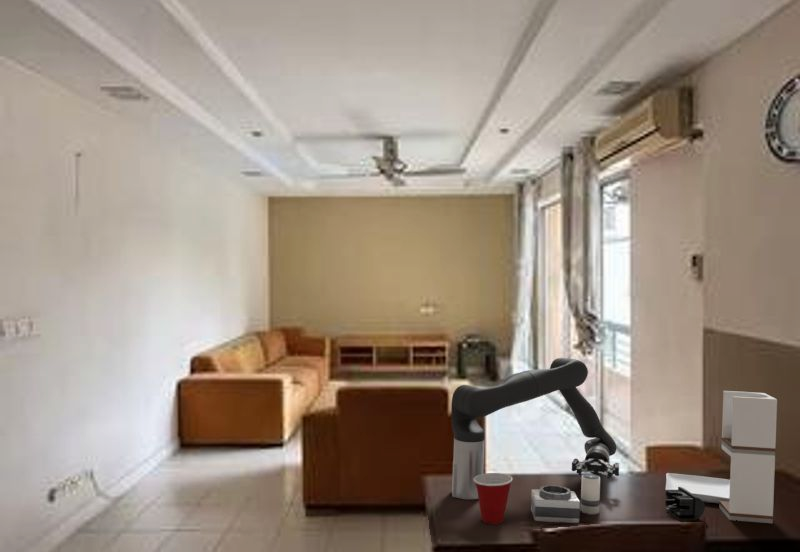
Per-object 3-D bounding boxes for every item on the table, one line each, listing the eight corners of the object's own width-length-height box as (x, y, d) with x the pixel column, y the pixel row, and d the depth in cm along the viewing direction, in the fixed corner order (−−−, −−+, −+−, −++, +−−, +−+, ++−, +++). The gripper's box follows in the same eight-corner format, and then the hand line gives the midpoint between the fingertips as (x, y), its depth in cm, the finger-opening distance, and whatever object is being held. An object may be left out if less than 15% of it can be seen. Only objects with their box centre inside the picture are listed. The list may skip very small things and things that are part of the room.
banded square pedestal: (534, 520, 199) (535, 493, 199) (530, 509, 208) (531, 483, 208) (579, 523, 198) (580, 496, 198) (573, 511, 207) (574, 486, 207)
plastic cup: (470, 512, 204) (471, 470, 204) (508, 514, 203) (510, 472, 203) (473, 526, 193) (474, 482, 193) (513, 528, 193) (515, 483, 192)
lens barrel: (582, 513, 206) (583, 478, 206) (578, 507, 211) (579, 473, 211) (601, 514, 206) (602, 479, 205) (597, 508, 211) (598, 474, 211)
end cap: (704, 521, 203) (705, 497, 203) (680, 521, 202) (681, 497, 202) (687, 509, 213) (688, 486, 213) (664, 509, 212) (665, 486, 212)
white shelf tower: (760, 510, 213) (764, 393, 213) (772, 523, 203) (777, 399, 202) (719, 507, 215) (723, 390, 214) (729, 519, 204) (734, 396, 204)
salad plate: (664, 500, 222) (665, 489, 222) (665, 481, 242) (666, 471, 242) (740, 510, 214) (741, 499, 214) (735, 490, 234) (735, 479, 234)
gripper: (575, 446, 237) (570, 458, 221) (620, 450, 232) (618, 463, 217) (574, 468, 237) (569, 483, 222) (619, 473, 232) (618, 488, 217)
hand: (594, 473), depth 219 cm, fingers open, 8 cm apart
